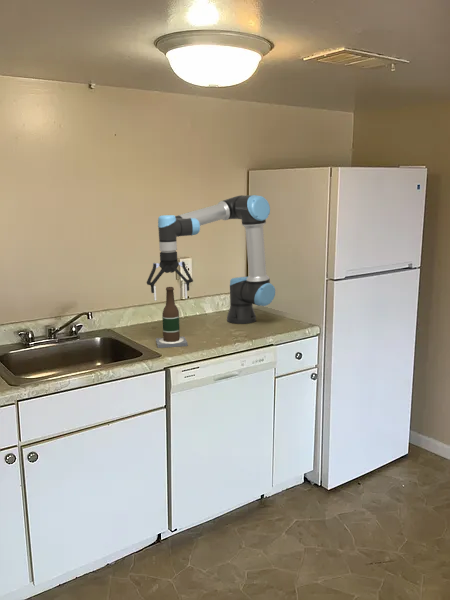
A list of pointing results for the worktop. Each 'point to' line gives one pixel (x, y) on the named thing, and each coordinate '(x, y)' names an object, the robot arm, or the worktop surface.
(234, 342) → the worktop surface
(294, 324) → the worktop surface
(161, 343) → the grey soap dish
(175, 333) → the beer bottle
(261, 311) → the worktop surface
